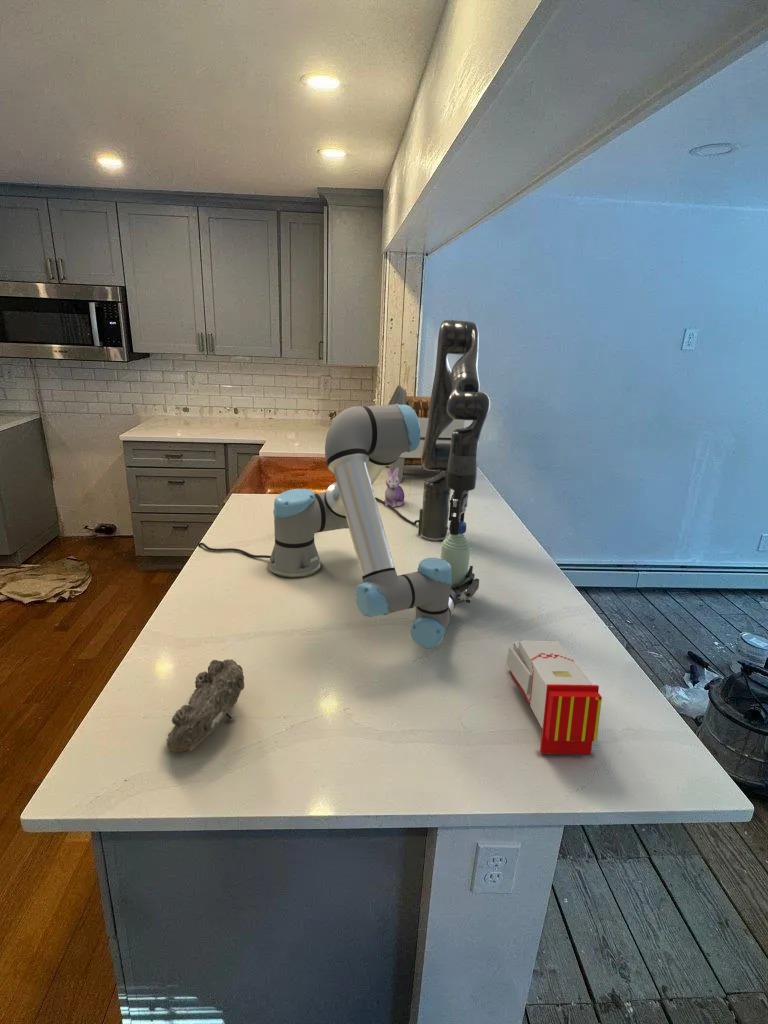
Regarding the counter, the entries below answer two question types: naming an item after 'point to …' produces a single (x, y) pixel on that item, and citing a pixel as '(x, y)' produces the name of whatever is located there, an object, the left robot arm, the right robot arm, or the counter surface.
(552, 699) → the toy
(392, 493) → the figurine
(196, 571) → the counter surface
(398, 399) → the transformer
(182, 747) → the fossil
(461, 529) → the cap
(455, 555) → the bottle
